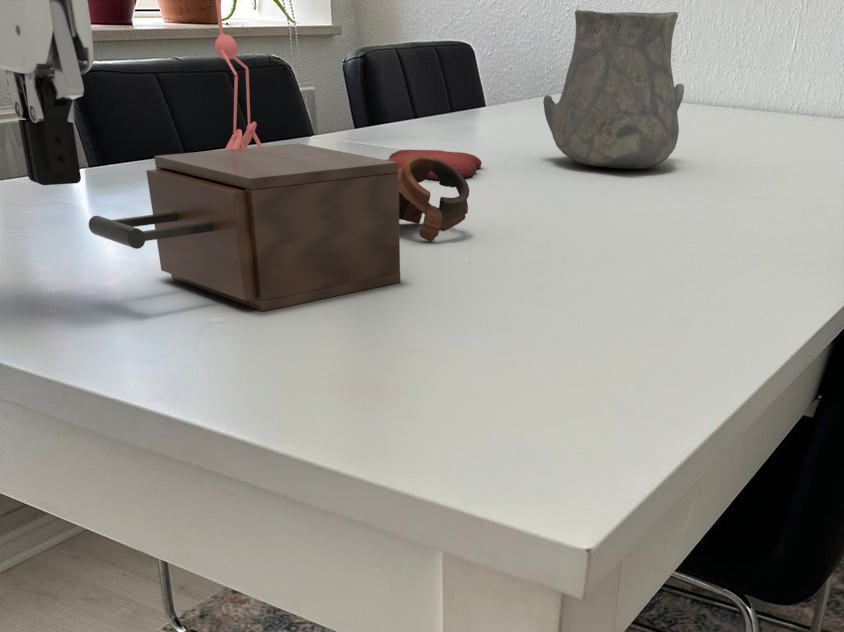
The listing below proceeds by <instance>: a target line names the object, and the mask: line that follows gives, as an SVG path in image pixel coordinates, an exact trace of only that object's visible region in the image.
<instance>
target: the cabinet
mask: <svg viewBox="0 0 844 632" xmlns="http://www.w3.org/2000/svg"><path fill="white" fill-rule="evenodd" d="M153 158H154V165H155V169H161V170H165V171H169V172H173V173H177V174H179V172H180V173H184V174H188V175H192V176H196V177H200V178H204V179H208V180H213V181H217V182H221V183H225V184H229V185H233V186H237V187H241V188H245V189H246V192H247V202H248V212H249V222H250V233H251V243H252V253H253V263H254V273H255V283H256V294H257V298H255V299H250V300H245V301H244V300H241V299H239V298H236V297H233V296H230V295H228V294H225V293H222V292H219V291H217V290H214V289H211V288H208V287H206V286H203V285H200V284H197V283H195V282H192V281H189V280H186V279H184V278H181V277H178V276H175V275H173V274H170V276H171V279H174V280H176V281H179V282H182V283H185V284H188V285H190V286H193V287H195V288H199V289H200V290H204V291H206V292H209V293H211V294H214V295H217V296H220V297H223V298H225V299H228V300H231V301H234V302H236V303H238V304H242V305H244V306H247V307H250V308H253V309H256V310H259V311H261V312H267V311H272V310H276V309H280V308H285V307H286V308H287V307H290V306H295V305H298V304H304V303H309V302H313V301H318V300H319V301H320V300H323V299H328V298H332V297H337V296H342V295H347V294H351V293H357V292H361V291H366V290H370V289H375V288H380V287H386V286H389V285H395V284H399V283H401V249H400V248H401V247H400V245H401V243H400V239H401V238H400V220H399V175H398V162H393V161H388V160H387V159H383V158H377V157H372V156H367V155H362V154H357V153H356V154H355V153H350V152H345V151H340V150H336V149H329V148H324V147H319V146H315V145H309V144H304V143H287V144H278V145H267V146H263V147H258V146H254V147H247V148H241V149H229V150H225V149H220V150H209V151H207V150H206V151H197V152H194V151H193V152H185V153H184V152H183V153H173V154H161V155H154V156H153Z"/></svg>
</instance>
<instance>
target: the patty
mask: <svg viewBox="0 0 844 632" xmlns="http://www.w3.org/2000/svg"><path fill="white" fill-rule="evenodd" d="M413 156H426V157H430V158H433V159H437V160H440V161H442V162H444V163H446V164H448V165H450V166H451V167H453V168H454V169H456V170H457V171H458V172H459V173H460V174H461V175H462V176H463V178H464V179H466V178H469V177H472V176H473V174H475V173H476V172H477V171H478V169H479V168H480V167H482V160H481V159H480V158H479V157H478V156H477V155H474V154H472V153H467V152H461V151H460V152H459V151H446V150H439V149H399V150H397V151H395V152H392V153H390V155H389V156H388V159H386V160H388V161H393V162H398V169H400V168H402V167H403V165H404V162H405V161H406V160H407V159H408V158H410V157H413ZM426 179H429V180H437V181H440V180H439V179H438V177H437V175H436V174H435V173H433V172H432V171H430V172H429V174H428V177H427V178H426Z"/></svg>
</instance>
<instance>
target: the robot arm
mask: <svg viewBox="0 0 844 632" xmlns="http://www.w3.org/2000/svg"><path fill="white" fill-rule="evenodd" d="M90 14H91V13H90V8H89V1H88V0H0V80H1V81H2V82H3V83H4V84H6V85H7V86H8V89H9V92H10V93H9V94H10V96H11V97H10V98H11V102H12V106H13V111H14V114H15V115H16V117H17V119H18V125H19V132H20V137H21V143H22V149H23V154H24V160H25V166H26V172H27V177H28V179H29V180H30V181H31V182H33V183H36V184H39V185H41V186H52V185H53V186H57V185H73V184H79V183H80V182H81V180H82V178H81V177H82V175H81V168H80V161H79V155H78V149H77V141H76V135H75V134H76V133H75V128H74V122H75V119H76V114H75V103H74V102H75V101H74V100H76V99H78V98H81V97H83V96H84V94H85V86H84V82H83V78H82V75H85V74H86V73H87V72H88V73H89V71H90V70H91V69H92V67H93V65H94V59H95V58H94V57H95V56H94V55H95V54H94V52H95V51H94V41H93V30H92V22H91V15H90Z"/></svg>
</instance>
